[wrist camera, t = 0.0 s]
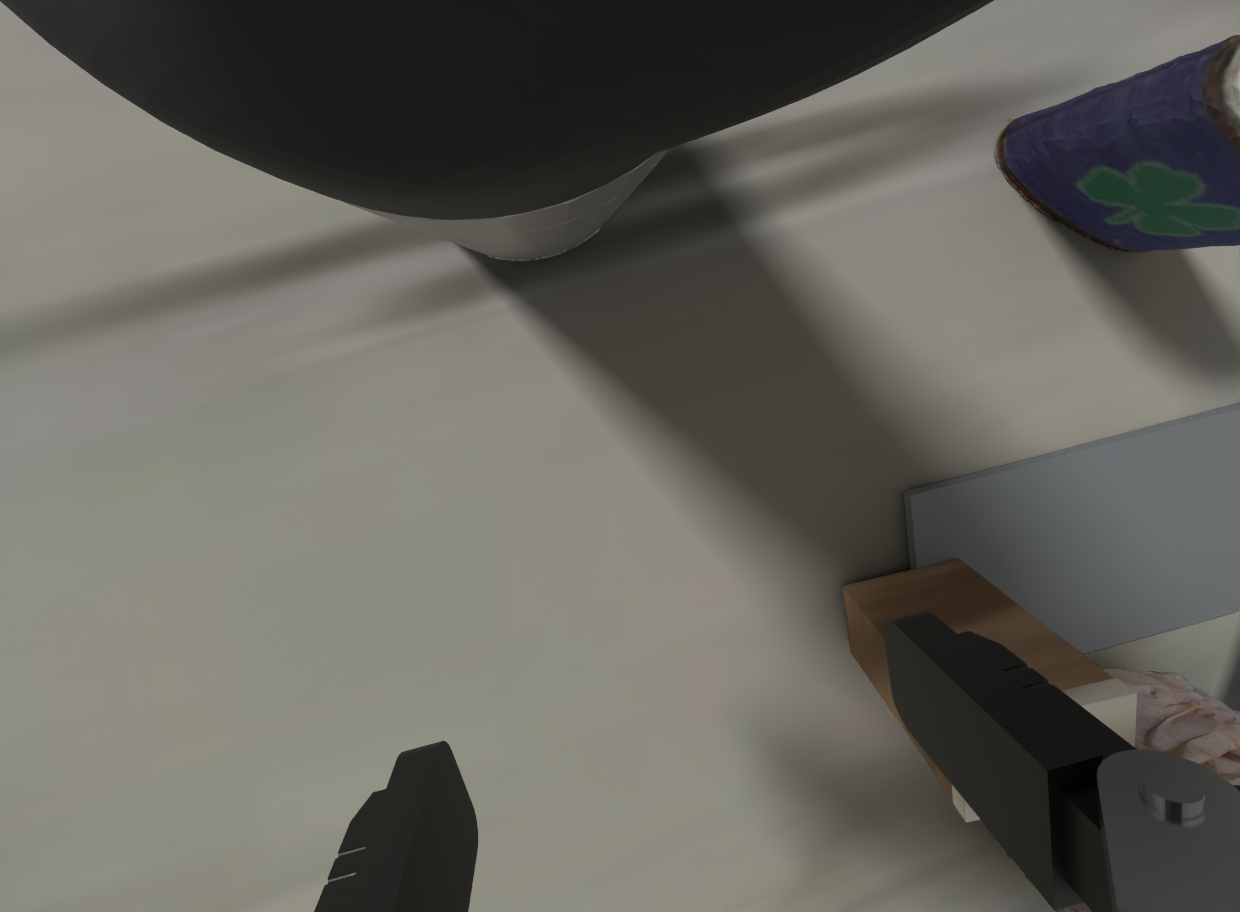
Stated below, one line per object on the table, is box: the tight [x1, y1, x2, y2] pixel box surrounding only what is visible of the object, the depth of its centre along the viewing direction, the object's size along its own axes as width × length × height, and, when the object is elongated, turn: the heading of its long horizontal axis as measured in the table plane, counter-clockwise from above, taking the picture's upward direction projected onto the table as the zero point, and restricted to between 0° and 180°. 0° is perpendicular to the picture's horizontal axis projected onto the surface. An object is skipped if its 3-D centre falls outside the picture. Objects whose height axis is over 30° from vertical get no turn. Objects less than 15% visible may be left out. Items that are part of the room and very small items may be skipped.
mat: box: [904, 403, 1240, 654], centre depth 31 cm, size 12×18×1 cm, turn 103°
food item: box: [1005, 668, 1240, 912], centre depth 31 cm, size 14×8×10 cm, turn 2°
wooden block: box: [842, 559, 1137, 823], centre depth 26 cm, size 4×6×10 cm
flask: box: [994, 35, 1240, 252], centre depth 21 cm, size 9×3×11 cm, turn 63°
